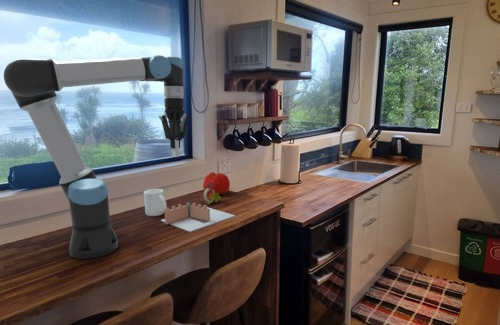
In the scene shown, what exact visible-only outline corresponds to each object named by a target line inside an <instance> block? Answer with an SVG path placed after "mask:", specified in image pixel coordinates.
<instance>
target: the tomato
mask: <svg viewBox="0 0 500 325" xmlns="http://www.w3.org/2000/svg"><path fill="white" fill-rule="evenodd" d="M212 181H213V182H214V183H215V186H214V187H213V190H214V191H215V194H216V193H218V194H219V196H221V195H225V194H227V192H228V191H229V190H230V185H231V183H230V179H229V177H228V176H227V175H226V174H225V173H222V172H219V173H215V172H210V173H209V174H207V175H206V176H205V177H204V180H203V183H202V187H203V191H205V190H206V189H207V188H208V187H207V186H206V185H205V184H206V183H209V182H212Z"/></svg>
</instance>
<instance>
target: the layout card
mask: <svg viewBox="0 0 500 325" xmlns="http://www.w3.org/2000/svg"><path fill="white" fill-rule="evenodd" d="M207 208H209V209H210V221H205V220H200V219H196V218H192V217H187V218H185V219H182V220H179V221H175V222H172V223H169V224H168V225H171V226H173V227H176V228H178V229H181V230H184V231H186V232H189V233H192V232H195V231H198V230H200V229H204V228H206V227H209V226H212V225H214V224H218V223H221V222H224V221H226V220H229V219H232V218H235V217H236V215H235V214H232V213H228V212H226V211H222V210H218V209H214V208H211V207H208V206H207ZM160 221H161V222H163V223H165V218H162V219H160Z"/></svg>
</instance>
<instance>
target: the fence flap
mask: <svg viewBox="0 0 500 325" xmlns="http://www.w3.org/2000/svg"><path fill="white" fill-rule="evenodd" d="M207 207H208V204H207V205H206V204H204V205H202V204H201V203H199V204H197V203H196V202H193V203H192V204H190V206H189V208H190V217H192V218H196V219H200V220H205V221H210V209H209V208H210V207H208V208H207Z"/></svg>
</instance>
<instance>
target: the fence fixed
mask: <svg viewBox="0 0 500 325" xmlns="http://www.w3.org/2000/svg"><path fill="white" fill-rule="evenodd" d="M190 205H191V202H188V201H187V202H186V205H182V204H180V203H178V204H177V207H176V206H175V205H172V206H171V209H170V208H169V207H166V210H165V211H164V219H165V222H164V224H165V225H170V224H169V223H172V222H175V221H179V220H182V219H185V218H187V217H190V208H189V206H190Z"/></svg>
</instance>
